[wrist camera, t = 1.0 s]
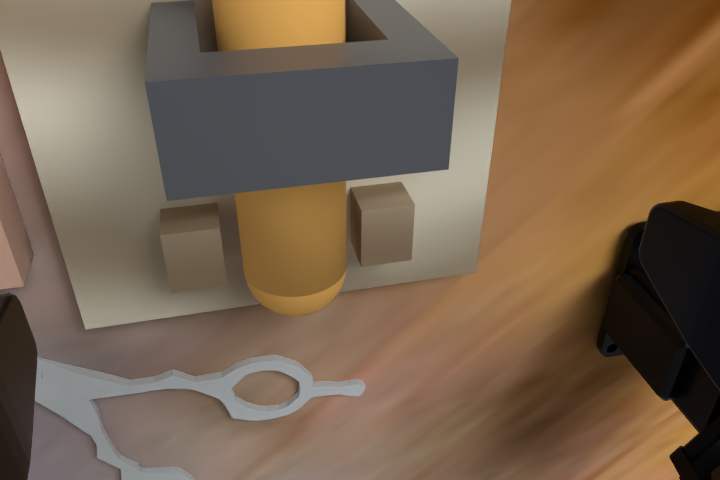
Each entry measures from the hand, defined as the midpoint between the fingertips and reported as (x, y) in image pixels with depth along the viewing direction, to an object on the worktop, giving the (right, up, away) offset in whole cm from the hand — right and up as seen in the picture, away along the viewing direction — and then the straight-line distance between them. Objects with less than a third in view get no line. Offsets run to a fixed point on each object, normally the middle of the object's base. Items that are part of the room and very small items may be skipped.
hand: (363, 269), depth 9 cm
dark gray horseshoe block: (-2, +6, +8) cm, 10 cm away
